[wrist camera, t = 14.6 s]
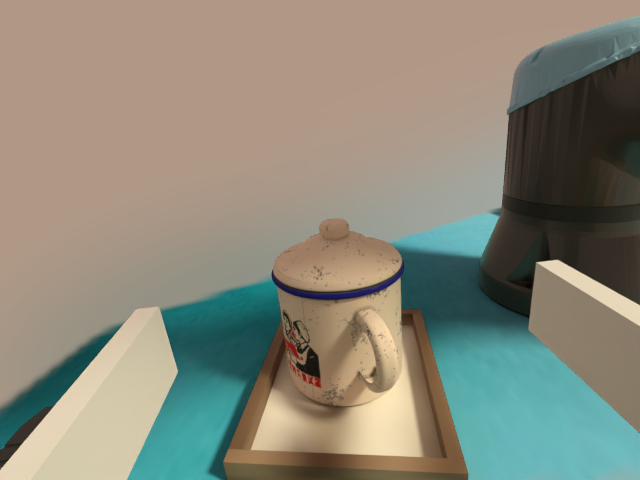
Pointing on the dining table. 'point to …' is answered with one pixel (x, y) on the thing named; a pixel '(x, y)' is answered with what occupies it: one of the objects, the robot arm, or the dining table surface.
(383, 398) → the walnut tray
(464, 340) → the dining table surface
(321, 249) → the teacup with lid
